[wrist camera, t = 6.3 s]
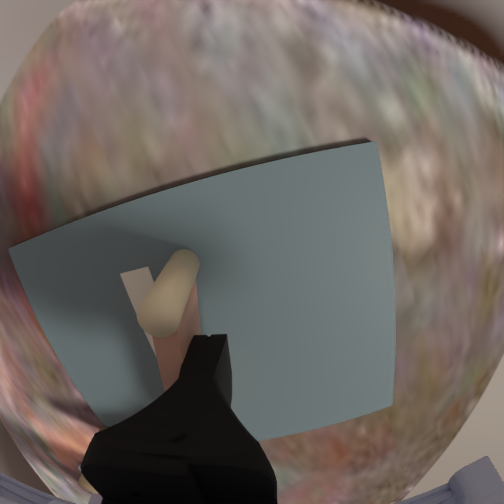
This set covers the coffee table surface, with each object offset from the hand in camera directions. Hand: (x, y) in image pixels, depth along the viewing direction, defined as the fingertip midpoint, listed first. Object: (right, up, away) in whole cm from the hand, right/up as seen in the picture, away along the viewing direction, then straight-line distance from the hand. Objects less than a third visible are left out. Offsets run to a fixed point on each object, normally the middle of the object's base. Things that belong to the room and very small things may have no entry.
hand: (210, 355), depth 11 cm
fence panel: (-1, 0, +2) cm, 2 cm away
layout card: (0, 0, +3) cm, 3 cm away
